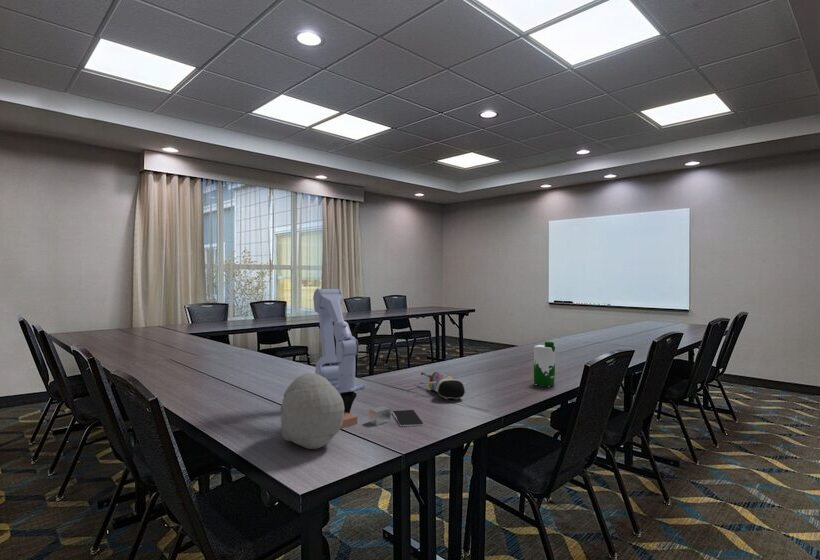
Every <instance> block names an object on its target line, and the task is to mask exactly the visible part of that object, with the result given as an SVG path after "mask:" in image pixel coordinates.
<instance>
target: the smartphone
mask: <svg viewBox="0 0 820 560" xmlns="http://www.w3.org/2000/svg"><path fill="white" fill-rule="evenodd" d="M391 414H392V416H393V418H396V419H395V420H396V422H397V421H398V422H397V423H399V424H398V425H399V427H400V426H401V428H405V427H404V426H410V427H421V426H420V425H423V426H424V422H423V421H422V419H421V418H420V417H419V416H418V414H417V412H416V411H415V410H414V409H408V410H407V409H403V410H392V412H391ZM402 426H403V427H402Z"/></svg>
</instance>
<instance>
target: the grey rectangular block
mask: <svg viewBox="0 0 820 560" xmlns="http://www.w3.org/2000/svg"><path fill="white" fill-rule="evenodd" d="M389 421H390V422H391V408H390V407H387V406H384V405H381V406H377V407H373V408H369V410H368V423H369V422H370V424H372V423H373V424H372V425H374V424H375V426H379V425H378V424H380V425H383V424H386V423H385V422H387V423H389ZM382 423H383V424H382Z"/></svg>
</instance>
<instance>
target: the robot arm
mask: <svg viewBox="0 0 820 560" xmlns="http://www.w3.org/2000/svg"><path fill="white" fill-rule="evenodd" d="M343 297H344V295H343V292H342V290H341V289H340V288H316V289H315V290H314V291H313V298H312V299H313V308H314V312H316V313H318V320H319V332H320V343H321V355H322V356H321V357H320V358H318V360H317V361H316V363H315V370H314V374H318V375H320V376H323V377H324V378H326V379H327V380H328V381H329V382H330V383H331V384H332V386H333V387H334V388H336V390H337V391H338V393H339V394H340V395H341V397H342V399H343V403H344V412H346V413H349V414H351V409H352V406H353V403H354V402H355V399H356V397H357V393H356V392H358V391H365V390H366V384H365V383H356V356H357V355H358V354H359V349H360V348H359V347H360V346H359V342H358V339H356V337H355V336H353V335H352V332H351V329H350V325H349V323H348V322H347V321H345V320H344V315H343V310H342V304H343V299H344V298H343ZM335 341H336V344H335ZM335 345H336V346H335Z"/></svg>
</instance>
